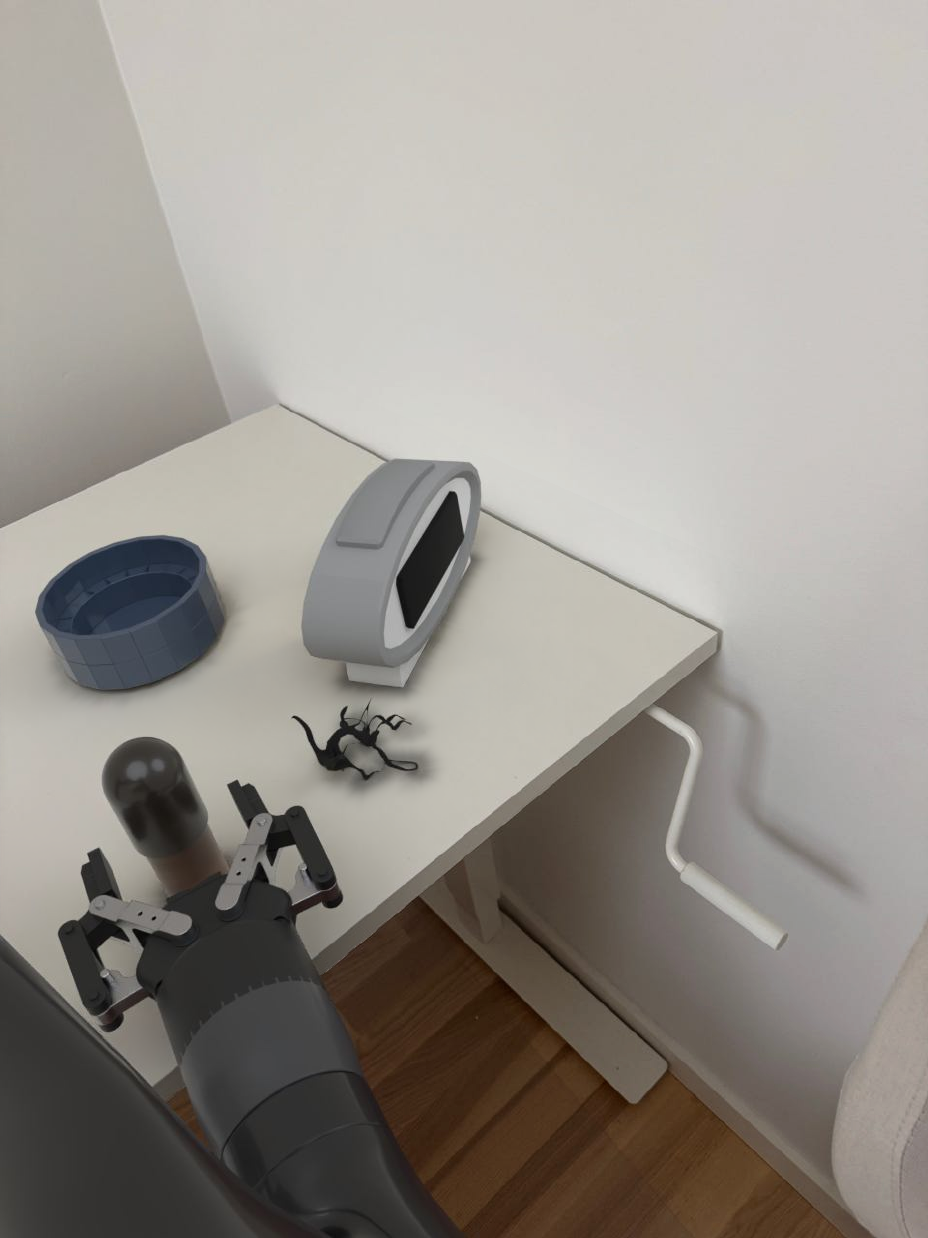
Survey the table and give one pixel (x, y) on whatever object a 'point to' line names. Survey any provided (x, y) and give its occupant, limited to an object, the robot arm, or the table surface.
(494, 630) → the table surface
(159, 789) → the two-tone capsule
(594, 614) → the table surface
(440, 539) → the alarm clock
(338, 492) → the table surface
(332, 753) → the creature
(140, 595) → the bowl
